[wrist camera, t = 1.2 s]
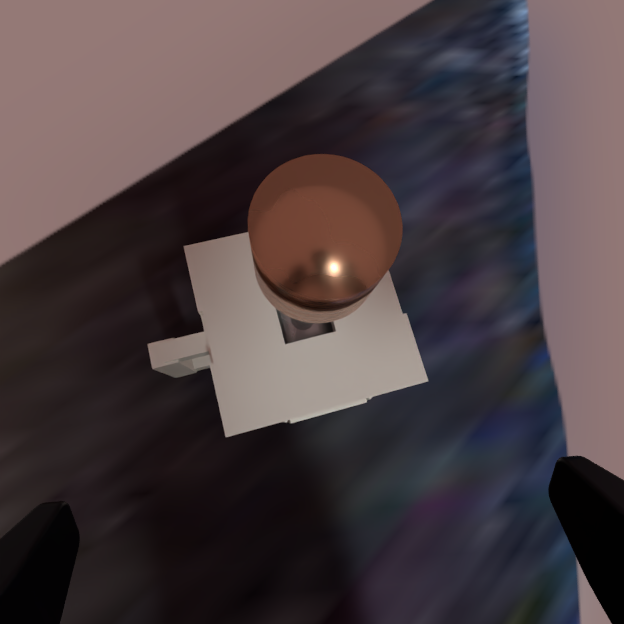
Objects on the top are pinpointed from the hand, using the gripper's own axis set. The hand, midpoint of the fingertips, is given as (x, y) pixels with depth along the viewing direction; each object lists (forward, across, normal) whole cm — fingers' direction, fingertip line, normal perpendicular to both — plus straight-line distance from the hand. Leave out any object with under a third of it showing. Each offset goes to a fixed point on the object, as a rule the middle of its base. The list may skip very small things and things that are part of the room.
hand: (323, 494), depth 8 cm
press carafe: (+14, +1, +5) cm, 15 cm away
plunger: (+10, 0, +2) cm, 10 cm away
